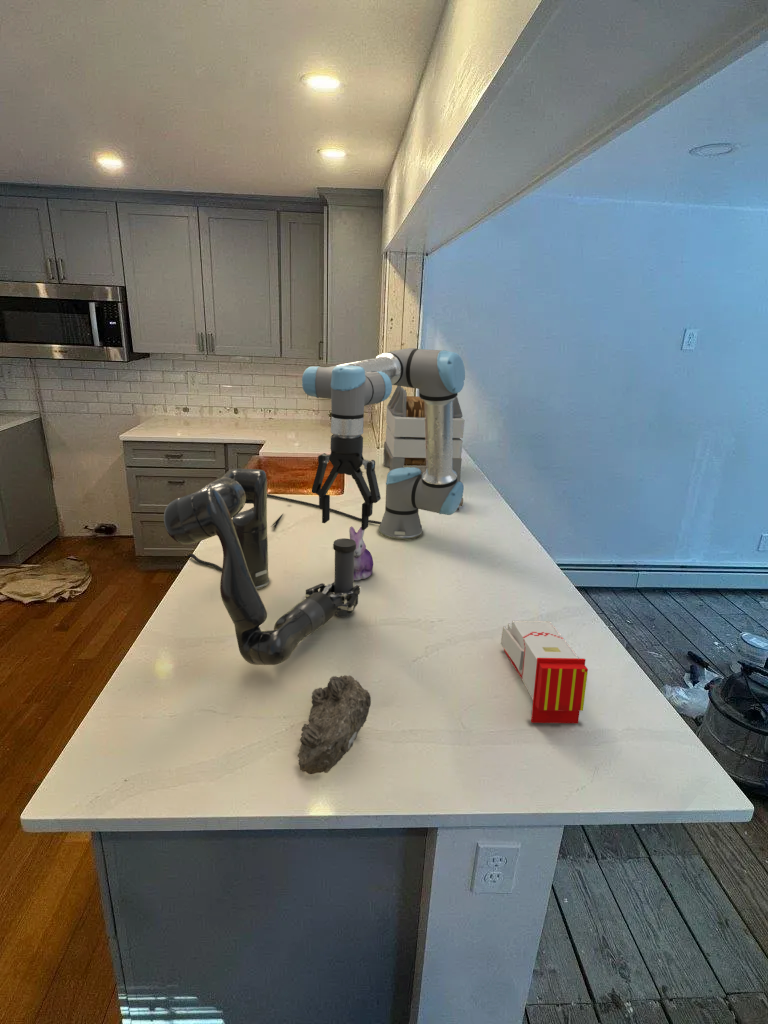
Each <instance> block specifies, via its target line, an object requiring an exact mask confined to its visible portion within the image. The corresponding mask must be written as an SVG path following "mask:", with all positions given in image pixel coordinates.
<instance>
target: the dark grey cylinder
mask: <svg viewBox="0 0 768 1024" xmlns="http://www.w3.org/2000/svg"><path fill="white" fill-rule="evenodd" d="M353 578H354V551H353V552H350V553H340V552H337V551H335V550H334V581H333V582H334V594H337V593H340V592H348V591H350V590H351V589H352V588H353V587H354V580H353ZM347 598H348V596H347ZM353 613H354V611H353V612H352V613H351V614H349V613H347V610H343V609H342V610H341V611H338V612H336V613H335V614H334V616H336V617H339V618H348V617H351V616H352V615H353Z"/></svg>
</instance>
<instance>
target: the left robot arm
mask: <svg viewBox="0 0 768 1024" xmlns="http://www.w3.org/2000/svg"><path fill="white" fill-rule="evenodd" d="M267 494H268V476H267V474H266V471H265V470H263V469H259V468H232V469H229V470H228V471H226V473H224V475H223V476H222V477H219V478H218V479H215V480H213V481H211V482H209V483H208V484H206V485H205V486H203V487H202V488H200V489H198V490H196V491H194V492H190V493H188V494H186V495H183V496H180V497H177V498H175V499H173V500H172V501H170V502H169V503H168V504H167V505H166V506H165V509H164V512H163V524H164V528H165V530H166V532H167V534H168V535H169V537H170V538H171V539H172V540H174V541H175V542H177V543H179V544H181V545H192V544H196V543H198V542H201V541H204V540H207V539H211V538H212V537H216V536H217V538H218V540H219V542H220V544H221V548H222V567H221V566H219V564H216V563H213V562H209V561H206V560H202V559H200V558H198V557H197V556H196V554H194V553H189V554H188V555H187V556H186V558H187V559H190V558H192V559H193V560H194V561H195V562H197V563H199V564H201V565H205V566H209V567H212V568H214V569H216V570H217V571H219V572H221V573H220V574H221V575H220V584H219V592H220V597H221V598H220V599H221V601H222V603H223V606H224V608H225V610H226V611H227V613H228V616H229V617H230V619H231V621H232V624H233V625H234V631H235V636H236V640H237V647H238V650H239V653H240V656H241V657H242V658H243V659H244V661H245V662H247V663H248V664H250V665H254V666H277V665H281V664H283V663H284V662H286V661H287V660H288V659H289V658H291V656H292V654H293V653H294V652H295V650H296V648H297V647H298V645H299V644H300V642H302V641H303V640H304V639H306V638H307V637H309V636H310V635H312V634H313V633H316V631H318V630H319V629H320V628H322V627H323V626H324V625H325V624H327V623H328V622H329V621H330V620H331V619H333V617H334V616H335V613H336V612H338V611H341V610H342V609H343V610H347V613H349V614H351V613H352V612H353V613H354V611H355V609H356V607H357V606H358V604H359V595H360V593H361V588H360V585H355V586H353V588H352V589H351V590H350V591H348V592H340V593H337V594H334V581H333V582H332V583H328V584H327V585H326V584H325V583H323V582H322V583H319V584H316V585H314V586H312V587H310V588H307V589H305V598H304V599H303V600H301V601H300V602H298V603H297V604H296V605H294V606H293V608H291V609H290V610H289V611H287V612H286V613H284V614H283V615H282V616H280V617H279V618H277V620H276V621H275V623H274V625H273V630H262V629H261V627H260V626H262V624H264V623H265V621H266V620H267V617H268V611H267V609H266V605H265V603H264V602H263V600H262V597H261V595H260V594H259V591H258V590H261V589H263V588H265V587H267V586H268V585H269V584H270V577H269V545H268V540H269V539H268V496H267ZM245 504H249V505H250V504H251V505H253V506H252V507H251V508H249V509H246V510H244V511H242V510H243V509H244V506H245ZM347 596H348V598H347ZM353 613H352V614H353Z"/></svg>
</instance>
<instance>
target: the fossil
mask: <svg viewBox="0 0 768 1024" xmlns="http://www.w3.org/2000/svg"><path fill="white" fill-rule="evenodd" d="M371 702H372V698H371V693H370V692H369V691H368V690H367V689H365V688H364V687H362V685H361V683H360V682H359V681H358V680H356V679H355V678H354V676H352V675H346V674H345V675H340V676H337V675H333V676H331V677H330V678H329V681H328V682H327V684H326V686H324V687H318V688H314V689H313V691H312V692H311V704H312V705H311V707H310V712H309V715H308V724H307V723H303V725H302V727H301V731H302V733H301V734H300V736H301V737H300V739H299V741H300V743H301V744H300V746H299V749H298V753H297V755H296V756H297V758H298V760H297V761H298V766H299V770H300V772H306V774H307V775H315V774H321V773H324V774H328V773H329V772H330V771H331V769H333V768H334V767H335V766H336V765H337V764H338V763H339V762H340V761H341V760H342V759H343V757H344V756H345V755H346V754H347V753H348V752H349V751H350V750H351V748H352V747H353V746H354V741H355V740H356V739H357V737H358V734H359V733H360V731H361V729H362V728H363V727H364V725H365V723H366V721H367V718H368V715H369V712H370V708H371V706H372V703H371Z"/></svg>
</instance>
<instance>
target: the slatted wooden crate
mask: <svg viewBox="0 0 768 1024" xmlns="http://www.w3.org/2000/svg"><path fill="white" fill-rule="evenodd" d="M407 394H408V393H407V390H406V389H404V388H403V386H397V385H396V388H395V390H394V392H393V394H392V395H391V398H390V400H389V402H388V404H387V405H386V413H385V414H386V415H385V423H386V428H385V438H384V442H383V466H384V467H388V468H389V472H390V471H391V470H393V469H397V468H405V466H406V467H409V466H411V467H417V466H418V467H426V445H425V407H424V401H423V400H421V399H420V397H419V395H418V396H415V395H414V396H413V395H412V396H411V395H407ZM464 429H465V419H464V418H463V411H462V408H461V405H460V402H459V398H458V396H457V397H456V398H455V399H454V400H453V401H452V470H454V471H455V472H456V473H457V481H460V482H461V472H462V461H463V460H462V453H463V442H464V441H463V440H462V439H463V438H464V431H465V430H464Z"/></svg>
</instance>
